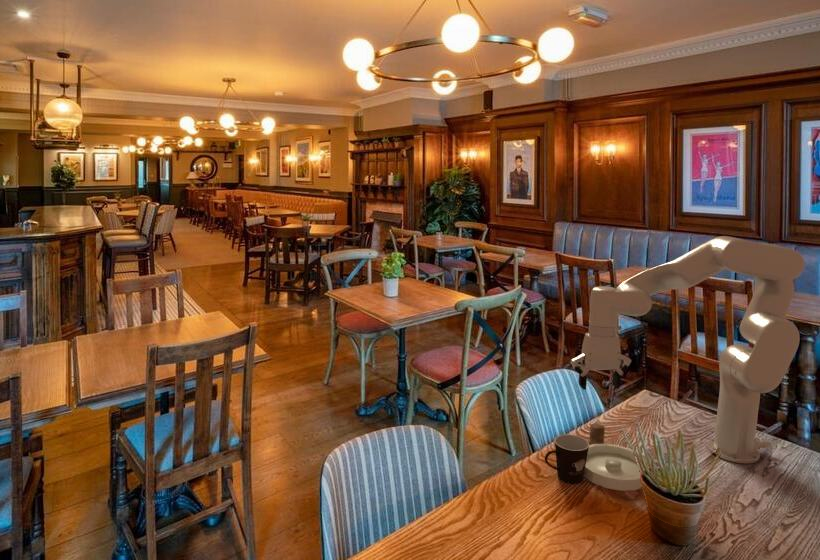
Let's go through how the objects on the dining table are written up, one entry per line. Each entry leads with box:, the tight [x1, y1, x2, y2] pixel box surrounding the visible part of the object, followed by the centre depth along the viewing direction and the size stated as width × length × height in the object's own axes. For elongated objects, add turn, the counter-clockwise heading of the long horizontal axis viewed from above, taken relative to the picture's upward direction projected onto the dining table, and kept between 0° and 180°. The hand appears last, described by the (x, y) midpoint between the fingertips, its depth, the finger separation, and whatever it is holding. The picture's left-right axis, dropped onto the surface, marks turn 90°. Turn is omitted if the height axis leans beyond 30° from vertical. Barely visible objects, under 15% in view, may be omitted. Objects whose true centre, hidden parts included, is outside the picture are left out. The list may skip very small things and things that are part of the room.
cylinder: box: [588, 423, 606, 445], centre depth 149 cm, size 4×4×6 cm
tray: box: [583, 443, 642, 492], centre depth 136 cm, size 18×18×3 cm
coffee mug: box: [544, 433, 589, 485], centre depth 133 cm, size 12×9×10 cm
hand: (599, 387), depth 146 cm, fingers open, 9 cm apart
